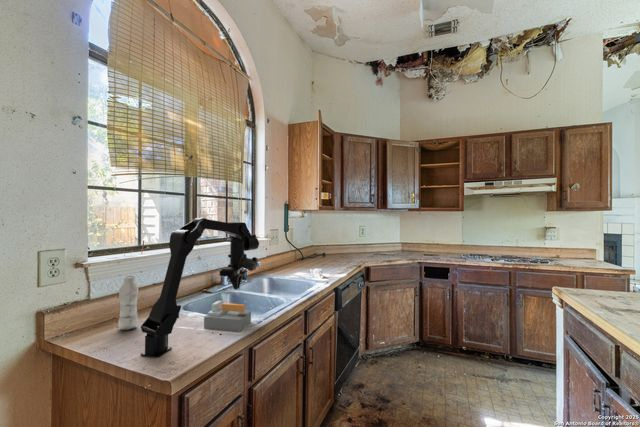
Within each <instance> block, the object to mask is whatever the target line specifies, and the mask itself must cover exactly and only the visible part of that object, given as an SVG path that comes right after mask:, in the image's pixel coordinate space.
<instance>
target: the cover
mask: <svg viewBox="0 0 640 427" xmlns="http://www.w3.org/2000/svg"><path fill="white" fill-rule="evenodd" d="M222 304H223V301H222V300H216V301H215V302H214V303H211V310H209V311H208V312H207V315H209V316H221V315H222V314H224V313H225V312H227V311H224V310H222Z"/></svg>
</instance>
